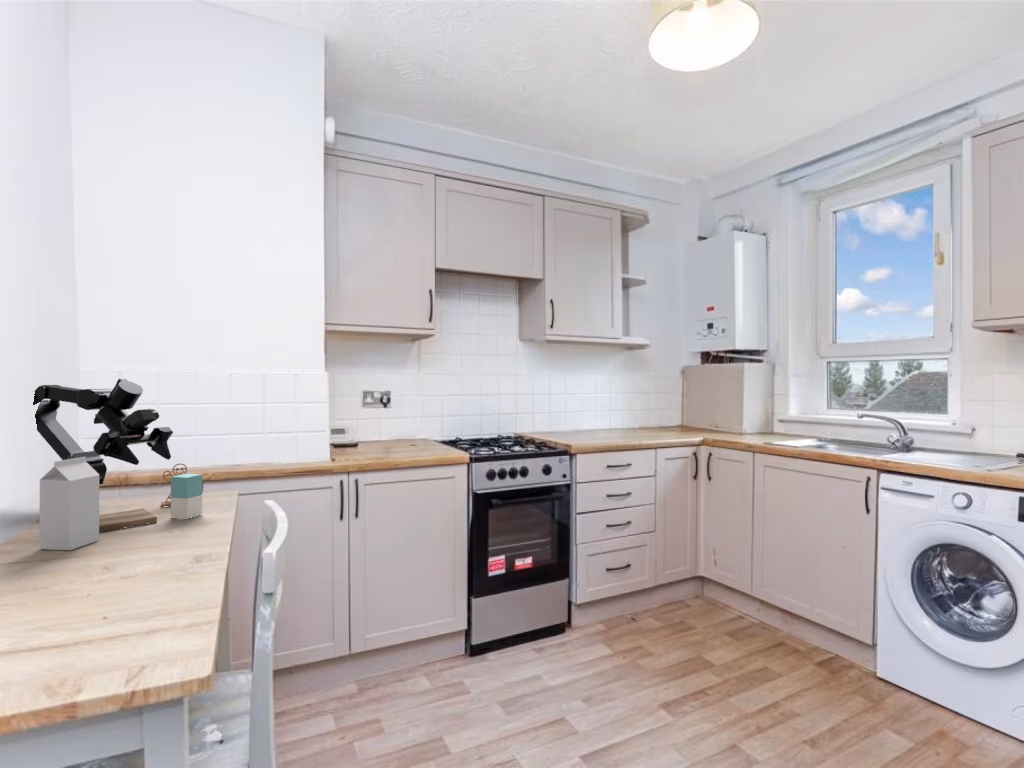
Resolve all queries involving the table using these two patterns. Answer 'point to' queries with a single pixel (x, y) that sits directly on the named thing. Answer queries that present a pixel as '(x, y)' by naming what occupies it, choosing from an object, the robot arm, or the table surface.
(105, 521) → the board
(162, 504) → the gingerbread man figurine
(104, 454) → the robot arm
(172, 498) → the block
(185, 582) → the table surface
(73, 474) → the milk carton
